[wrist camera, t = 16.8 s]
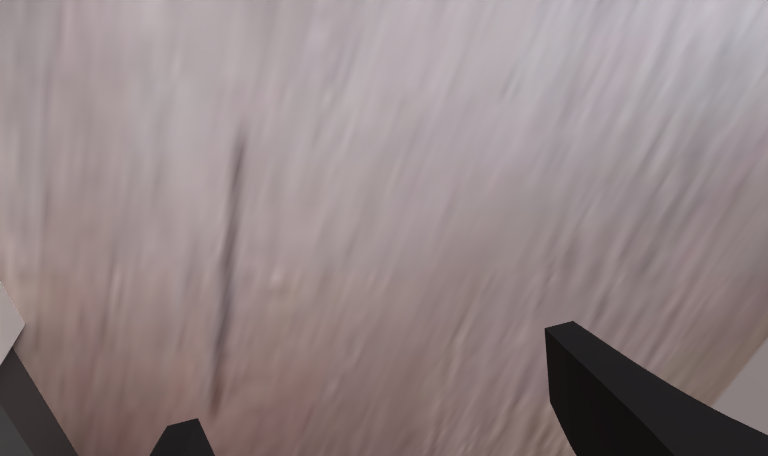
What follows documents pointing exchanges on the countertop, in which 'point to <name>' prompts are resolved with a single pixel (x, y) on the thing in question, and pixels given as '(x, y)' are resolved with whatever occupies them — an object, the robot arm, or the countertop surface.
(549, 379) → the robot arm
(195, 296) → the countertop surface
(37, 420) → the plug
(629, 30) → the countertop surface
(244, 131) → the countertop surface
